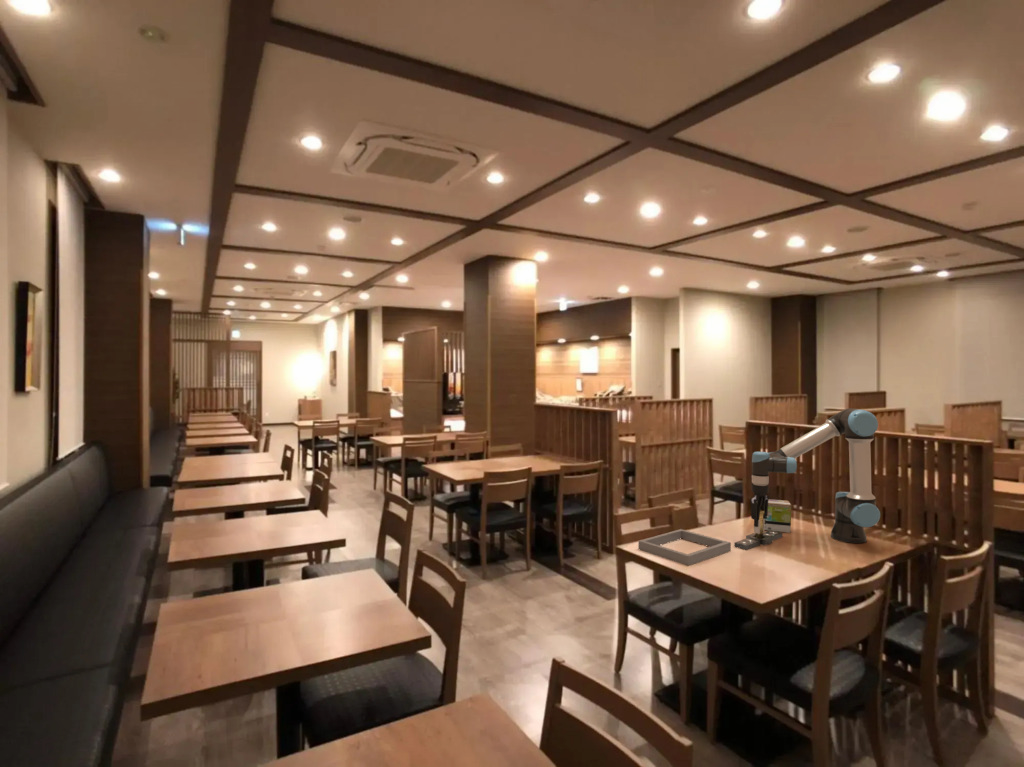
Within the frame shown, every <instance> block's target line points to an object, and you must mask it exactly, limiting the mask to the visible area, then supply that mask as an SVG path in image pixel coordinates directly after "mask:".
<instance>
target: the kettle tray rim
mask: <svg viewBox="0 0 1024 767" xmlns="http://www.w3.org/2000/svg"><path fill="white" fill-rule="evenodd" d="M680 538H684V539H687V540H686V541H688V540H690V541H689V542H691V541H694V542H693V543H695V542H697V543H696V544H698V543H700V544H699V545H702V544H704V545H703V546H705V545H707V546H706V547H705V548H703V549H699V550H697V551H692V552H690V553H684V552H681V551H679V550H674V549H673V548H669V547H664V546H662V545H665V544H664V543H666V544H668V543H667V542H669V543H671V542H670V541H673V542H675V541H674V540H676V541H678V540H677V539H679V540H681V539H680ZM684 539H683V540H684ZM660 544H662V545H660ZM637 545H638V550H639V549H640V550H639V551H643V552H645V553H648V554H651V555H654V556H658V557H661V558H664V559H666V560H670V561H673V562H676V563H679V564H682V565H684V566H692V565H695V564H697V563H701V562H703V560H704V561H707V560H708V559H712V558H714V557H717V556H721V555H724V554H726V552H727V553H729V552H728V551H730V552H731V551H732V550H731V545H732V542H730V541H727V540H723V539H720V538H716V537H712V536H708V535H705V534H700V533H696V532H694V531H690V530H686V529H683V528H680V529H676V530H673V531H669V532H666V533H662V534H659V535H655V536H651V537H647V538H644V539H640V540H638V544H637ZM709 546H710V547H709ZM723 553H724V554H723ZM720 554H721V555H720ZM706 559H707V560H706Z"/></svg>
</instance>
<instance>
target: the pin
mask: <svg viewBox="0 0 1024 767" xmlns="http://www.w3.org/2000/svg"><path fill="white" fill-rule="evenodd" d="M763 514H764V510H760V516H759V520H760V534H758V533H755V537H757V538H761V539H762V538H763V533H764V532H763Z"/></svg>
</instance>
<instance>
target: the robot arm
mask: <svg viewBox="0 0 1024 767" xmlns="http://www.w3.org/2000/svg"><path fill="white" fill-rule="evenodd" d="M878 428H879V421H878V419H877V417H876V415H874V413H872V412H870V411H868V410H865V409H859V408H854V407H853V408H851V407H849V408H845V409H843V410H841V411H839V412H838V413H837V412H836V414H834V415H832V416H831V417H828V418H827V419H826V420H825V422H824V423H823V424H820V425H819V426H817V427H815V428H814V429H813V430H811V431H809V432H807V433H805V434H802V436H800V437H798V438H797V439H794V440H793V441H791V442H790V443H787V444H786V445H783V447H781V448H779V449H777V450H776V451H771V452H766V451H754V452H752V456H751V492H752V493H753V497H752V498H750V500H749V501H750V518H751V519H752V520H753V533H758V534H760V520H759V516H760V510H764V514H763V533H764V532H765V530H764V526H765V519H767V517H766V516H767V515H768V500H769V499H770V496H768V495H767V494H768V493H769V487H770V486H769V483H770V481H769V480H770V478H769V476H770V473H780V474H782V473H783V474H795V473H796V472H797V468H798V464H797V460H796V459H797V458H798V457H800V456H802V455H804V454H805V453H808V452H809V451H811V450H812V449H813V450H814V448H816V447H818V446H820V445H822V444H824V443H826V442H827V441H829V440H831V439H832V438H834V437H840V436H842V435H844V439H845V440H846V441H847V442H848V453H849V455H848V457H849V458H848V461H849V464H848V466H849V491H837V492H835V498H834V499H835V500H834V502H835V503H834V505H835V507H834V508H835V509H834V510H835V511H834V512H835V515H834V516H835V518H834V520H835V521H834V523H833V526H832V528H831V531H830V538H832V539H833V540H835V541H839V542H844V543H849V544H863V543H867V540H868V539H867V535H866V534H867V533H866V531H865V528H871V527H874V526H875V525H877V524H878V523H879V521H880V518H881V511H880V509H879V508H878V506H877V501H876V500H877V499H876V496H875V495H874V494H873V493H872V461H871V460H872V459H871V457H872V455H871V454H872V453H871V452H872V451H871V450H872V449H871V442H873V441H874V440H875V433H876V432H877V430H878Z"/></svg>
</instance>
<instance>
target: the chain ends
mask: <svg viewBox="0 0 1024 767" xmlns="http://www.w3.org/2000/svg"><path fill="white" fill-rule="evenodd" d="M783 533H784V532H779V531H772V530H766V531H764V532H763V538H762V539H761V538H757V537H755V533H754V532H753V533H751V534H750V533H749V534H747V535H745V538H744V539H741V540H737V541H735V542H734V543H733V544H734V546H735V547H734V546H733V547H734V548H737V547H738V548H737V549H742V550H744V549H745V550H746V551H748V550H751V549H754V548H755V547H759V546H767V545H770V544H771V545H772V544H773V541H775V540H778V539H782V538H783V535H784V534H783Z"/></svg>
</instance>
